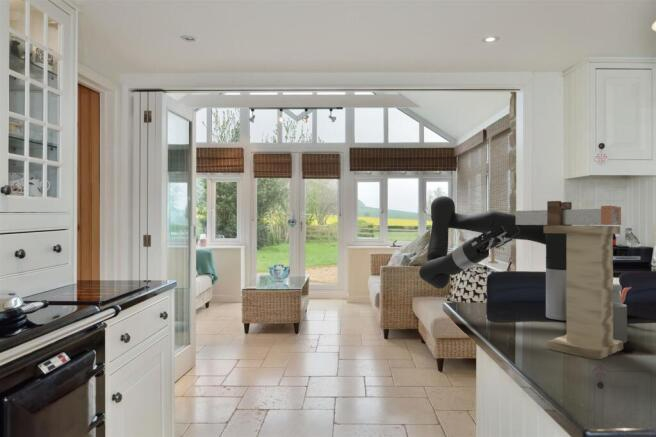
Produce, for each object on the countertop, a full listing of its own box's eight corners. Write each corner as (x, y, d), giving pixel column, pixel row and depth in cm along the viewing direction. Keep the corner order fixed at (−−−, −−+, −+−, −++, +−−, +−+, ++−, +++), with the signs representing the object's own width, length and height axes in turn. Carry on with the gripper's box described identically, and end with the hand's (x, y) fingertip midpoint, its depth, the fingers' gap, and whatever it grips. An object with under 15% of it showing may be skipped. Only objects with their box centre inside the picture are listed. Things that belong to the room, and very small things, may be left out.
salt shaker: (628, 324, 143) (627, 285, 143) (608, 323, 144) (608, 284, 145) (619, 321, 149) (619, 283, 149) (601, 320, 150) (601, 282, 150)
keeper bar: (525, 224, 130) (525, 209, 130) (621, 225, 111) (621, 206, 111) (512, 224, 126) (512, 208, 126) (610, 224, 106) (610, 205, 106)
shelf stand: (566, 338, 124) (566, 203, 125) (623, 349, 113) (622, 201, 114) (539, 346, 114) (540, 200, 115) (598, 359, 103) (598, 198, 104)
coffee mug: (632, 344, 118) (632, 307, 118) (591, 341, 121) (591, 305, 121) (615, 333, 131) (615, 300, 131) (578, 330, 134) (578, 298, 134)
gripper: (451, 243, 138) (492, 217, 127) (477, 243, 147) (517, 218, 136) (461, 264, 135) (504, 239, 124) (487, 263, 144) (529, 239, 133)
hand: (511, 228), depth 130 cm, fingers open, 8 cm apart
